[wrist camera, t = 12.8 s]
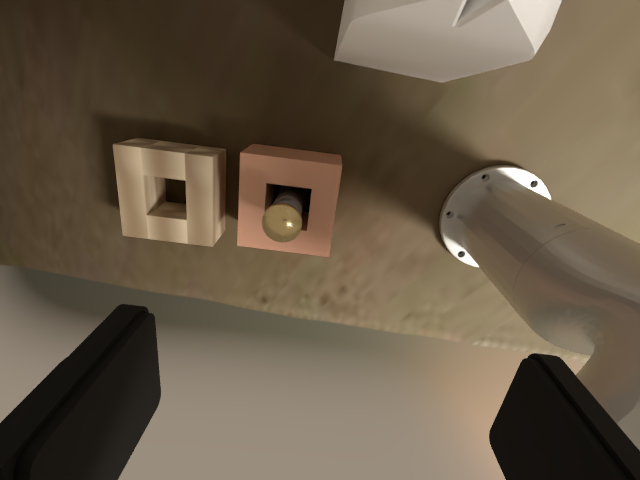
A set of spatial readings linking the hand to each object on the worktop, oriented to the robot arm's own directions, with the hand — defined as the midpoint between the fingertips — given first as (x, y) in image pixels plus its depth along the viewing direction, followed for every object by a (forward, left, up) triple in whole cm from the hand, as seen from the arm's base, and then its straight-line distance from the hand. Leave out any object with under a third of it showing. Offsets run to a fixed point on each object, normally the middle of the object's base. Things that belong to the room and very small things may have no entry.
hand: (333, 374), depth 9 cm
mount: (+17, +6, -33) cm, 38 cm away
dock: (+4, +5, -33) cm, 34 cm away
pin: (+4, +5, -33) cm, 34 cm away
